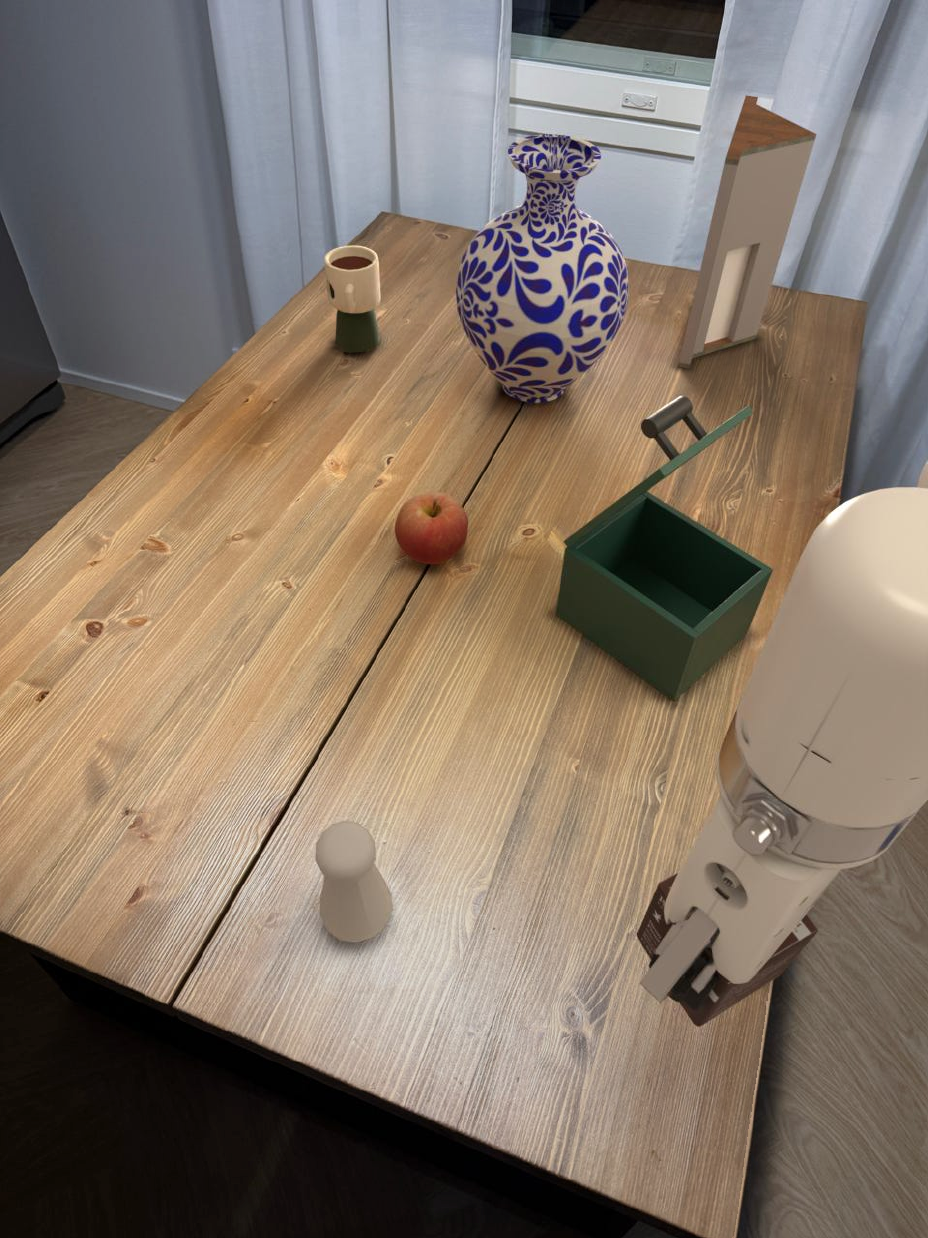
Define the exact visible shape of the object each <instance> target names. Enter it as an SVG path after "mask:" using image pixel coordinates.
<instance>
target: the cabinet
mask: <svg viewBox="0 0 928 1238" xmlns="http://www.w3.org/2000/svg"><path fill="white" fill-rule="evenodd" d="M758 99H759V97H758V96H755V95H754V96H753V95H745V97H744V100H743V102H742V106H741V109H740V112H739V115H738V117H737V121H736V125H735V127H734V131H733V134H732V137H731V140H730V143H729V147H728V149H727V153H726V154H725V155H726V156H725V160H724V164H723V169H722V172H721V177H720V181H719V186H718V190H717V194H716V199H715V203H714V206H713V207H714V208H713V212H712V215H711V221H710V224H709V229H708V234H707V238H706V242H705V247H704V251H703V256H702V260H701V264H700V269H699V273H698V277H697V282H696V285H695V286H696V287H695V291H694V293H693V294H694V295H693V299H692V304H691V308H690V313H689V317H688V321H687V324H686V330H685V333H684V339H683V342H682V347H681V351H680V356H679V360H678V365H677V367H679V368H684V369H690V368H691V364H692V361H693V359H694V358H698V357H701V356H704V355H707V354H711V353H714V352H717V351H721V350H724V349H727V348H730V347H733V346H737V345H739V344H743V343H747V342H749V341H752V340H755V339H757V336H758V334H759V333H758V332H759V329H760V326H761V322H762V319H763V315H764V313H765V308H766V306H767V302H768V298H769V295H770V293H771V289H772V285H773V282H774V279H775V275H776V272H777V268H778V266H779V261H780V258H781V255H782V251H783V248H784V245H785V242H786V238H787V235H788V232H789V228H790V225H791V222H792V218H793V215H794V212H795V208H796V204H797V201H798V198H799V195H800V191H801V187H802V185H803V181H804V179H805V178H804V177H805V175H806V171H807V166H808V164H809V161H810V157H811V153H812V151H813V148H814V144H815V140H816V137H817V133H815V132H813V131H811V130H809V129H808V128H805V127H803V126H801V125H799V124H797V123H795V122H793V121H791V120H789V119H787V118H785V117H783V116H781V115H778V114H777V113H775V112H773V111H772V110H770V109H767V108H765V107H763V106H761V105H759V104H757V103H758V101H759V100H758Z"/></svg>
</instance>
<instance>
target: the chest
mask: <svg viewBox="0 0 928 1238" xmlns="http://www.w3.org/2000/svg"><path fill="white" fill-rule="evenodd" d="M773 572H774V568H772V567H771V566H769V565H768V564H766V563H764V562H762V561H761V560H759V559H758V558H756V557H754V556H753V555H751V554H750V553H748V552H747V551H744V550H743V549H741V548H740V547H738V546H737V545H735V544H734V543H731V542H730V541H729V540H727V539H725V538H724V537H722V536H721V535H718V534H717V533H715V532H714V531H713V530H711V529H709V528H708V527H706V526H704V525H703V524H701V523H700V522H698V521H696V520H695V519H693V518H691V517H690V516H688V515H686V514H685V513H683V512H681V511H680V510H679V509H677V508H675V507H673V506H672V505H670V504H668V503H667V502H665V500H662V499H661V498H659V497H658V496H656V495H655V494H652V493H651V492H649V491H647V492H645V493H644V494H642V495H641V496H640V497H638V498H637V499H635V500H634V501H633V502H631V503H630V504H628V505H627V506H626V507H624V508H623V509H622V510H620V511H619V512H617V513H616V514H615V515H613V516H612V517H610V518H609V519H608V520H606V521H605V522H603V523H602V524H601V525H599V526H598V527H597V528H595V529H594V530H592V531H591V532H590V533H588V534H587V535H585V536H584V537H583V538H581V539H580V540H578V541H577V542H576V543H574V544H573V545H572V546H570V547H569V548H568V547H567V546H565V548H564V553H563V559H562V567H561V573H560V580H559V581H560V582H559V588H558V594H557V601H556V607H555V609H556V610H555V615H556V616H558V617H559V618H560V619H561V620H563V621H564V622H565V623H567V624H568V625H569V626H571V627H572V628H574V629H575V630H576V631H577V632H579V633H581V634H582V635H583V636H584V637H586V638H587V639H589V640H590V641H591V642H592V643H594V644H595V645H596V646H598V647H599V648H600V649H602V650H603V651H605V652H606V653H607V654H609V655H610V656H611V657H613V658H614V659H616V660H617V661H618V662H619V663H621V664H622V665H623V666H625V667H626V668H627V669H629V670H630V671H631V672H633V673H634V674H635V675H637V676H638V677H640V678H641V679H642V680H644V681H645V682H646V683H648V684H649V685H650V686H652V687H653V688H654V689H656V690H657V691H658V692H660V693H661V694H662V695H664V696H665V697H667V698H668V699H669V700H671V701H672V702H675V701H676V700H677V699H678V698H679V697H681V696H682V694H683V693H685V692H686V691H687V690H688V689H689V688H690V687H691V686H692V685H694V684H695V683H696V682H697V681H698V680H700V678H701V677H702V676H704V674H705V673H707V672H708V671H709V670H710V669H711V668H712V667H713V666H714V665H715V664H717V663H718V662H719V661H720V660H721V659H722V658H723V657H724V656H725V655H726V654H727V653H729V652H730V651H731V650H732V649H733V648H734V647H735V646H736V645H738V643H739V642H740V641H741V640H742V639H744V638H745V636H747V635H748V633H749V630H750V628H751V626H752V623H753V620H754V619H755V615H756V613H757V611H758V608H759V606H760V604H761V601H762V598H763V596H764V593H765V592H766V588H767V586H768V584H769V581H770V578H771V576H772V574H773Z"/></svg>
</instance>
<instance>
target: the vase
mask: <svg viewBox="0 0 928 1238" xmlns="http://www.w3.org/2000/svg"><path fill="white" fill-rule="evenodd" d="M507 155H508V157H509V159H510V161H511V164H512V166H513V168H515V169H516V170H517V171H518V172H521V173H522V174H524V175H525V180H526V193H525V198H524V200H523V203H522V204H520V205H518V206H515V207H513V208H511V209H509V210H507V211H504V212H503V213H501V214H500V215H498V216H496V217H495V218H493V219H492V220H489V222H488V223H486V224H485V225H484V226H483V227H481V229H479V231H478V232H477V233H476V235H474V237H473V238H472V239H471V240H470V242H469V243H468V245H467V248H466V250H465V251H464V254H463V256H462V257H461V261H460V265H459V267H458V268H459V269H458V273H457V279H456V285H455V297H456V298H455V299H456V310H457V312H458V316H459V320H460V322H461V325H462V329H463V331H464V333H465V335H466V337H467V339H468V341H469V343H470V345H471V347H472V349H473V350H474V351H475V353H476V355H477V356H478V357H479V359H480V360H481V362H482V364H483V365H484V366H485V367H486V368H487V370H488V371H489V372H490V373H491V374H492V375H493V376H494V377H495V379H496V380H497V381H498V382H499V383H500V384H501V385H500V386H501V388H502V390H503V391H504V392H505V394H507V395H508V396H510V397H511V398H513V399H515V400H518V401H521V402H526V403H533V404H534V403H535V404H540V403H547V402H550V401H554V400H556V399H557V398H559V397H561V396H562V395H563V393H564V392H565V391H566V389H567V388H568V387H570V386H571V385H572V384H573V383H574V382H576V381H577V380H578V379H579V378H581V377H582V376H583V375H585V373H586V372H587V371H588V370H589V369H590V368H591V367H592V366H593V365H594V364H595V363H597V361H598V360H599V359H600V358H601V357H602V355H603V354H604V353H605V352H606V350H607V349H608V347H609V346H610V345H611V343H612V342H613V341H614V339H615V337H616V335H617V333H618V332H619V330H620V328H621V326H622V324H623V322H624V319H625V315H626V311H627V307H628V303H629V286H630V285H629V272H628V267H627V263H626V260H625V257H624V254H623V252H622V251H623V250H621V247H620V246H619V244H618V242H617V240H616V239H615V238H614V237H613V235H612V234H611V233H610V232H609V231H608V230H607V229H606V228H605V227H604V226H603V225H602V224H601V223H600V222H599V221H597V220H596V219H595V218H593V217H592V216H591V215H589V214H587V213H586V212H585V211H583V210H581V209H579V208H578V207H577V204H576V190H577V185H578V183H579V180H580V178H583V177H585V176H588V175H589V174H592V172H594V170H595V169H596V167H597V165H598V164H599V163H600V161H601V159H602V153H601V151H600V149H599V148H598V147H597V146H596V145H594V144H593V143H592V142H589V141H587V140H586V139H582V138H579V137H576V136H572V135H566V134H555V133H546V134H545V133H542V134H533V135H528V136H524V137H521V138H519V139H517V140H515V141H513V142H512V143H511V144H510V145H509V146H508V149H507Z"/></svg>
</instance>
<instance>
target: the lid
mask: <svg viewBox="0 0 928 1238" xmlns="http://www.w3.org/2000/svg"><path fill="white" fill-rule="evenodd" d="M693 408H694V406H693V402H692V401H691V399H690V398H689V397H688V396H685V395H680V396H677V397H676V398H674V399H673V400H672V401H669V403H667V404H665V405H664V406H662V407H661V408H658V410H656V411H655V412H653V413H652V414H650V415H648V416H647V417H646V418H644V419H643V420H642V421H641V423H640V430H641V432H642V434H643V435H644V436H645V437H646V438H647V439H650V440H651V439H654V441H655V442H656V443H657V445H658V446H659V447H660V449H661V451H663V453H664V455H666V457H667V458H668V460H669V461H667V463H665V464H664V465H662V466H661V467H659V468H658V469H657V470H655V471H654V472H653V473H652V474H650V475H649V476H648V477H646V478H645V479H643V480H642V481H641V482H639V483H638V484H637V485H635V486H634V487H633V488H631V489H630V490H629V491H627V492H626V493H624V495H623V496H621V497H620V498H618V499H617V500H616V501H615V502H613V503H612V504H611V505H609V506H608V507H607V508H605V509H603V511H601V512H600V513H599V514H597V515H595V517H593V518H592V519H591V520H589V521H588V522H587V523H585V524H584V525H583V526H581V527H580V528H579V529H578V530H576V531H574V532H573V533H572V534H571V535H570V536H568V537H567V538H565V539H564V540H563V541H562V542H563V543H564V545H565V547H568V548H569V547H570V546H572V545H573V544H574V543H576V542H577V541H578V540H580V539H581V538H583V537H584V536H585V535H587V534H588V533H590V532H591V531H592V530H594V529H595V528H597V527H598V526H599V525H601V524H602V523H603V522H605V521H606V520H608V519H609V518H610V517H612V516H613V515H615V514H616V513H617V512H619V511H620V510H622V509H623V508H624V507H626V506H627V505H628V504H630V503H631V502H633V501H634V500H635V499H637V498H638V497H640V496H641V495H642V494H644V493H645V492H649V490H651V489H652V488H653V487H655V486H656V485H658V484H659V483H661V482H662V481H664V480H665V479H666V478H667V477H668V476H670V475H672V474H673V473H674V472H675V471H677V470H678V469H679V468H681V467H682V466H684V465H685V464H686V463H688V462H689V461H690V460H691V459H693V458H695V457H696V456H697V455H699V454H700V453H702V451H704V450H705V449H707V448H708V447H709V446H711V445H712V444H713V443H715V442H717V440H719V439H721V438H722V437H723V436H725V435H726V434H727V433H728V432H730V431H731V430H732V429H734V428H735V427H737V426H738V425H740V424H741V423H742V422H744V421H745V420H746V419H748V418H749V417H750V416H751V415H753V414H754V411H753V409H752V408H751V407H750V405H747V406H745V407H744V408H743V409H741V410H740V411H738V412H737V413H736V414H734V415H732V416H731V417H730V418H729V419H727V420H726V421H724V422H723V423H721V424H720V425H718V426H717V427H716V428H714V429H713V430H712V431H710V432H707V431H706V430H705V429H704V427H703V426H702V424H701V423H700V421H699V420H698V419H697V417H696V416H695V414H694V413H693ZM680 421H683V422H684V424H685V425H686V426H687V428H688V429H689V430H690V431H691V433H692V434H693V436H694V437H695V438H696V440H697V441H696V442H695V443H693V444H691V445H690V446H689V447H687V448H686V449H684V450H683V451H682V452H681V453H680V452H679V451H678V450H677V448H676V447H675V445H674V444H673V443H672V441H671V440H670V439H669V438H668V436H667V435H666V433H665V432H667V430H669V429H671V428H672V427H673V426H675V425H676V424H677V423H679V422H680Z"/></svg>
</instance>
